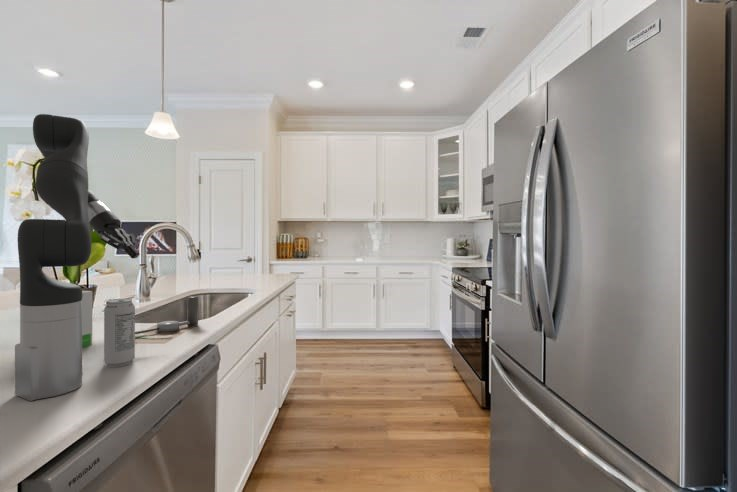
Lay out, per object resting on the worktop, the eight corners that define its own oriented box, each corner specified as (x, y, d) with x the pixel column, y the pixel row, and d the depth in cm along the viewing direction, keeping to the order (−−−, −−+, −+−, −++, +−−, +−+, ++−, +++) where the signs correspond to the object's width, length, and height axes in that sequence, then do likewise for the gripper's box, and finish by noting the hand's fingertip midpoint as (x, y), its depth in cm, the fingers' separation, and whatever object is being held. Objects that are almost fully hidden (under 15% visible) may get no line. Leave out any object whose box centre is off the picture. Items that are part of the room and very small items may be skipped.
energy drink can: (124, 357, 92) (125, 297, 91) (140, 361, 89) (140, 299, 89) (98, 365, 86) (98, 301, 86) (114, 369, 83) (114, 303, 83)
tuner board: (164, 347, 100) (164, 342, 100) (115, 347, 100) (115, 342, 100) (198, 327, 122) (198, 323, 122) (158, 327, 122) (158, 323, 122)
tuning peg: (191, 322, 123) (192, 295, 123) (202, 325, 120) (202, 297, 119) (129, 334, 107) (129, 303, 107) (140, 337, 103) (140, 305, 103)
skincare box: (62, 358, 90) (62, 294, 90) (40, 356, 92) (40, 293, 91) (94, 348, 99) (94, 290, 98) (73, 346, 100) (73, 289, 100)
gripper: (91, 208, 113) (129, 249, 112) (123, 211, 126) (157, 248, 126) (75, 225, 113) (113, 266, 113) (108, 226, 127) (142, 263, 126)
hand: (136, 256), depth 119 cm, fingers closed
